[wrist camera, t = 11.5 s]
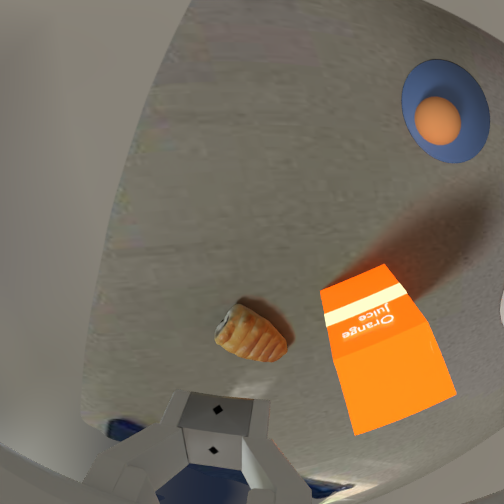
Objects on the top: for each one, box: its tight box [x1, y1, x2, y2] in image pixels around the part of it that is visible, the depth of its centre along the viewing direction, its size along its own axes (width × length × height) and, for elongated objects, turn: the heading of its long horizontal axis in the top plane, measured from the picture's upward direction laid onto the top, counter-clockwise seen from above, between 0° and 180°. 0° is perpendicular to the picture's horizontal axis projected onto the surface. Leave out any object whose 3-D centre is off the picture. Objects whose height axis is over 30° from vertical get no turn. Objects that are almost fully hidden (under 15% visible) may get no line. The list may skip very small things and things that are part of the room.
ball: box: [414, 97, 461, 145], centre depth 29 cm, size 6×6×6 cm
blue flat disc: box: [402, 60, 490, 163], centre depth 30 cm, size 13×13×1 cm
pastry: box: [215, 304, 287, 362], centre depth 40 cm, size 9×7×4 cm
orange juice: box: [320, 264, 456, 435], centre depth 30 cm, size 8×9×20 cm
